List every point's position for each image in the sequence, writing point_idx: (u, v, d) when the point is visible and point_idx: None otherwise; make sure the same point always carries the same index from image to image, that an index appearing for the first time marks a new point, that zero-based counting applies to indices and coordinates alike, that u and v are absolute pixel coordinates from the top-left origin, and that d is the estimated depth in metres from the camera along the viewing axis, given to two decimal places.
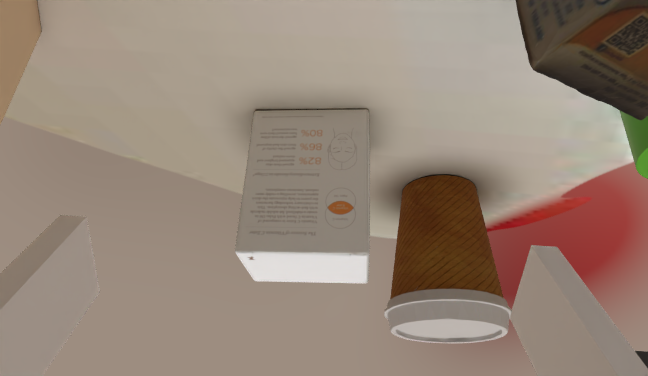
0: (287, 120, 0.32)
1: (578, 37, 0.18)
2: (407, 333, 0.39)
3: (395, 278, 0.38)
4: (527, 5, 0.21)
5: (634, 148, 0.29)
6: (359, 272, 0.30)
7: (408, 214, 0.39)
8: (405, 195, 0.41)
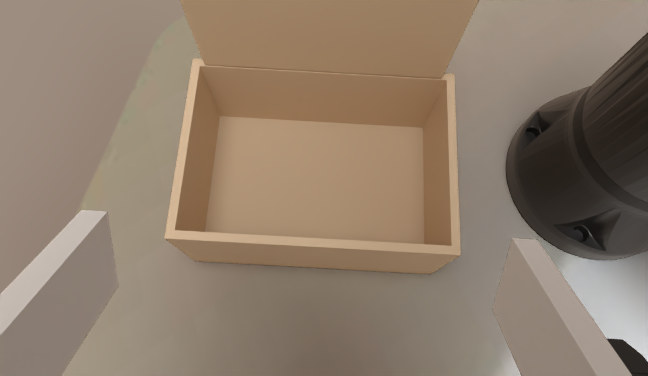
0: None
1: None
2: None
3: None
4: None
5: None
6: None
7: None
8: None
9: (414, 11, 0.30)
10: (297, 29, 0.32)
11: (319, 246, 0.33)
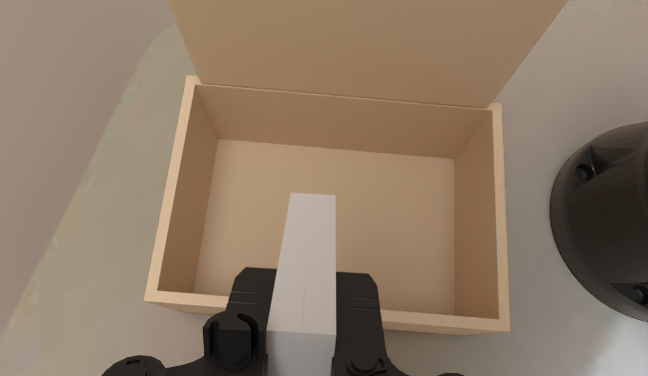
0: None
1: None
2: None
3: None
4: None
5: None
6: None
7: None
8: None
9: (467, 30, 0.23)
10: (316, 46, 0.26)
11: None
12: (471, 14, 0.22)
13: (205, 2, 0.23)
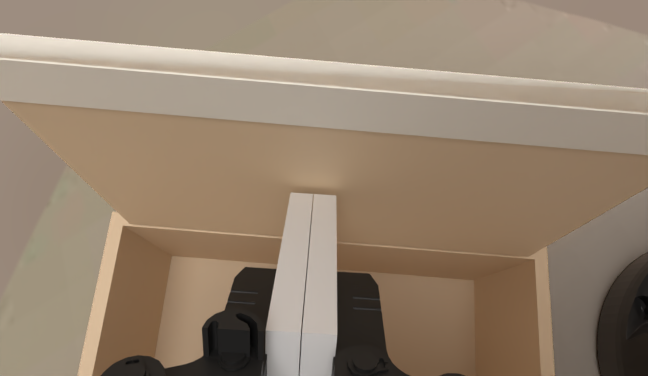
0: None
1: None
2: None
3: None
4: None
5: None
6: None
7: None
8: None
9: (517, 188, 0.15)
10: (286, 197, 0.17)
11: None
12: (526, 172, 0.14)
13: (107, 149, 0.15)
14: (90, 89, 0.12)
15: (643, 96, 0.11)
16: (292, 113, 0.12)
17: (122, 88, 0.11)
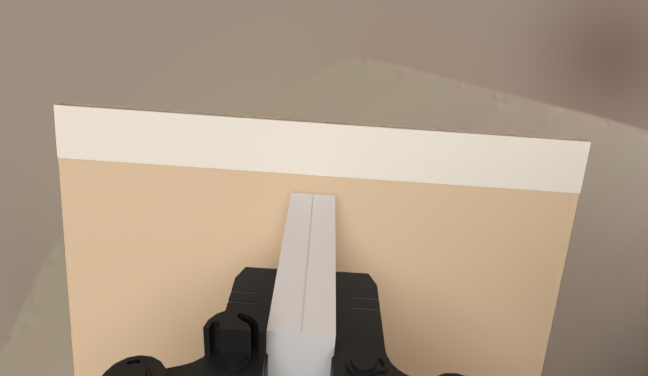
0: None
1: None
2: None
3: None
4: None
5: None
6: None
7: None
8: None
9: (465, 262, 0.17)
10: None
11: None
12: (465, 232, 0.17)
13: (114, 230, 0.17)
14: (135, 137, 0.16)
15: (510, 134, 0.17)
16: (277, 155, 0.17)
17: (159, 134, 0.16)
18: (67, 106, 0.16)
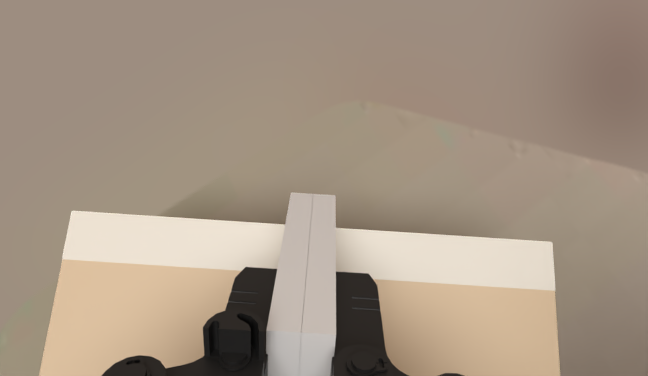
0: None
1: None
2: None
3: None
4: None
5: None
6: None
7: None
8: None
9: (459, 366, 0.17)
10: None
11: None
12: (454, 332, 0.17)
13: (100, 334, 0.17)
14: (140, 239, 0.18)
15: None
16: (270, 256, 0.18)
17: (163, 236, 0.18)
18: (83, 212, 0.18)
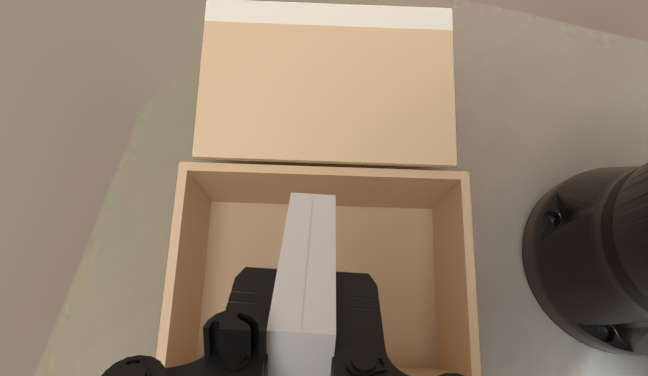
0: None
1: None
2: None
3: None
4: None
5: None
6: None
7: None
8: None
9: (404, 64, 0.35)
10: (301, 92, 0.34)
11: None
12: (401, 50, 0.35)
13: (227, 53, 0.35)
14: (242, 11, 0.35)
15: None
16: (308, 17, 0.35)
17: (254, 9, 0.35)
18: None
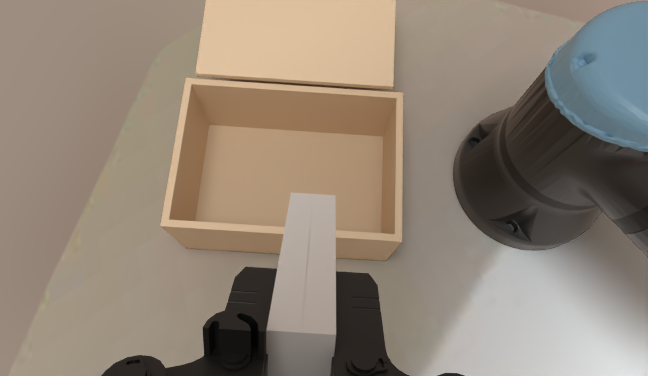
0: None
1: None
2: None
3: None
4: None
5: None
6: None
7: None
8: None
9: (357, 13, 0.46)
10: (279, 31, 0.45)
11: None
12: (356, 3, 0.46)
13: (225, 1, 0.46)
14: None
15: None
16: None
17: None
18: None
